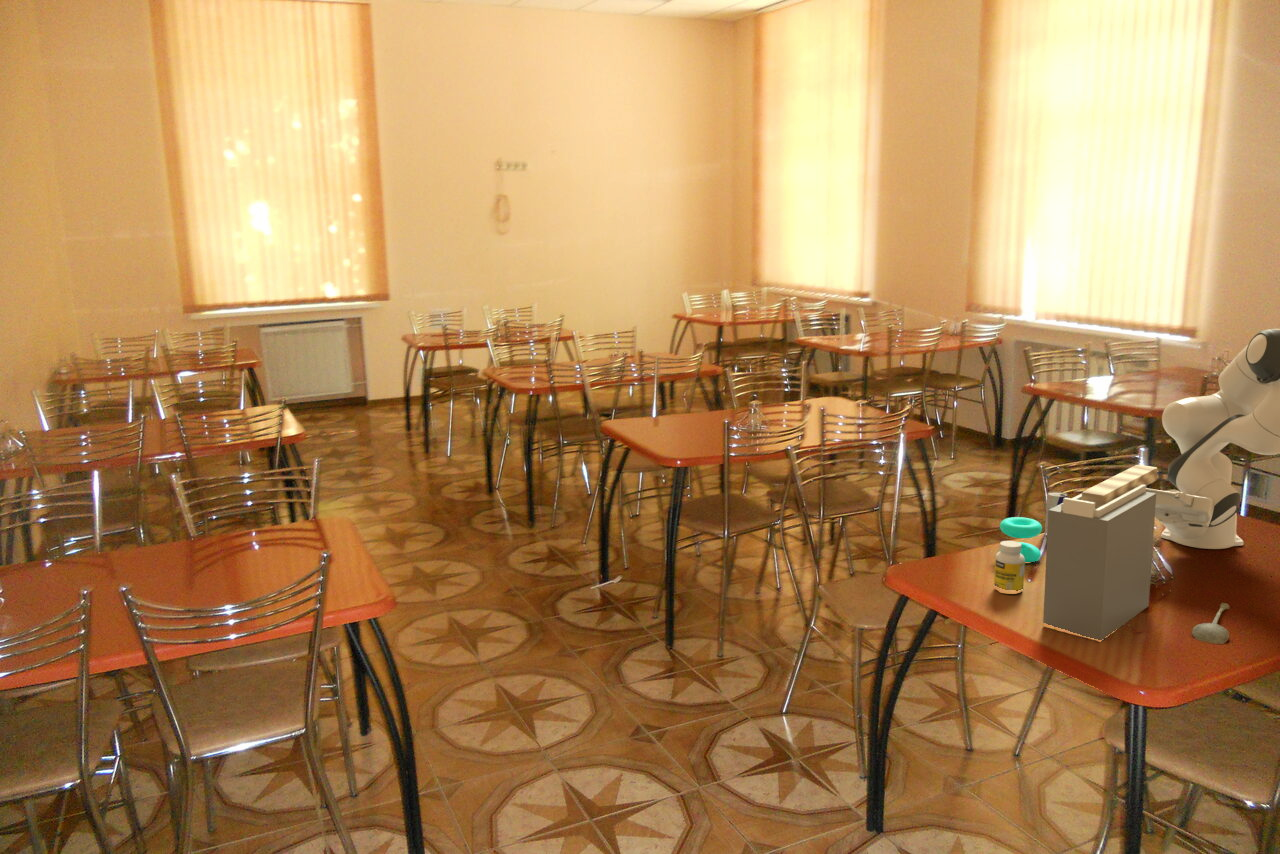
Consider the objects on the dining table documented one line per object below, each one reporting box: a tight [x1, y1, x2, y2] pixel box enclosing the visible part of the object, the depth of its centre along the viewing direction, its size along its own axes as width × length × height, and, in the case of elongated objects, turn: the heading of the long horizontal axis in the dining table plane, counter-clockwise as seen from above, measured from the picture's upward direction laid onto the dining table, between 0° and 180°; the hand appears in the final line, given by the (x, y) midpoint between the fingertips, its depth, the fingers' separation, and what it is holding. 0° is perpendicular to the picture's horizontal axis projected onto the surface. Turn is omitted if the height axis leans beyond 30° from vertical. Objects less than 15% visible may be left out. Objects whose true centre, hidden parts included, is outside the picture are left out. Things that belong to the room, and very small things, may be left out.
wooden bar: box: [1081, 464, 1158, 508], centre depth 212 cm, size 30×4×3 cm, turn 133°
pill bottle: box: [993, 540, 1026, 591], centre depth 227 cm, size 6×6×12 cm
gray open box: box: [1042, 484, 1156, 640], centre depth 209 cm, size 26×12×29 cm, turn 133°
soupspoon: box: [1191, 602, 1230, 645], centre depth 205 cm, size 22×3×7 cm
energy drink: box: [1044, 491, 1069, 534], centre depth 264 cm, size 5×5×12 cm
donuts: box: [998, 516, 1043, 563], centre depth 248 cm, size 10×10×10 cm
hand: (1156, 491), depth 228 cm, fingers open, 8 cm apart
